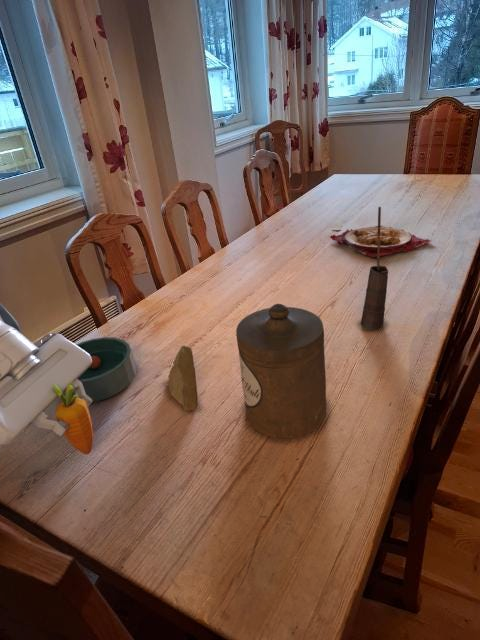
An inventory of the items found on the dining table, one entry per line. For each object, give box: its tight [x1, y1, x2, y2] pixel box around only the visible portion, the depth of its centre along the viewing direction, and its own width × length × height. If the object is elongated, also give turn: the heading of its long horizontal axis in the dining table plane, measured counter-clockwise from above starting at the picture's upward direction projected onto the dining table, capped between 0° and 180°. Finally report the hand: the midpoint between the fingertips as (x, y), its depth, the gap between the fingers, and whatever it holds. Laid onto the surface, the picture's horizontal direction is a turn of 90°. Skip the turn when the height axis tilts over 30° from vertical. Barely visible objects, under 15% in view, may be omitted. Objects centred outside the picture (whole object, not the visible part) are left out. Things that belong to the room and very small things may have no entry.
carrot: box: [52, 382, 94, 455], centre depth 70 cm, size 5×5×15 cm
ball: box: [89, 356, 101, 369], centre depth 97 cm, size 3×3×3 cm
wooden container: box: [235, 303, 327, 439], centre depth 75 cm, size 15×15×22 cm
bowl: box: [63, 336, 137, 403], centre depth 93 cm, size 17×17×6 cm
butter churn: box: [360, 206, 389, 331], centre depth 95 cm, size 9×10×28 cm
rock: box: [166, 345, 198, 412], centre depth 85 cm, size 11×9×10 cm
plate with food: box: [329, 225, 433, 258], centre depth 149 cm, size 24×26×3 cm
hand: (77, 418), depth 70 cm, fingers closed on carrot, 5 cm apart
